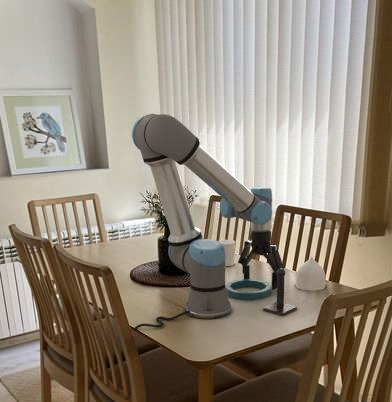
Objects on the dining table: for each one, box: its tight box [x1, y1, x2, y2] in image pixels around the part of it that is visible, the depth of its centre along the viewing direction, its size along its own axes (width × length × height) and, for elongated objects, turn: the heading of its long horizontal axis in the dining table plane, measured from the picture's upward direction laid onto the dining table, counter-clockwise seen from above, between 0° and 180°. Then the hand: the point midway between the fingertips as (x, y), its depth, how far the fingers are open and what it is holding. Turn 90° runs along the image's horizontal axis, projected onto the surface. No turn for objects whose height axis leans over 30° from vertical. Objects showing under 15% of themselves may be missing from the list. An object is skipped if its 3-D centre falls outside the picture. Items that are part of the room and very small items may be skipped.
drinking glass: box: [217, 239, 236, 267], centre depth 236 cm, size 8×8×10 cm
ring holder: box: [262, 268, 298, 317], centre depth 181 cm, size 8×8×14 cm
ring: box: [225, 278, 272, 301], centre depth 202 cm, size 17×17×2 cm
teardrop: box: [295, 255, 326, 292], centre depth 205 cm, size 11×11×12 cm
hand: (260, 285), depth 207 cm, fingers open, 12 cm apart
